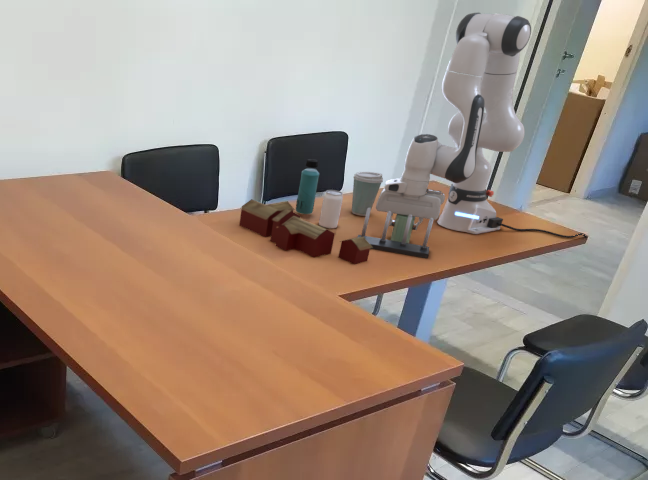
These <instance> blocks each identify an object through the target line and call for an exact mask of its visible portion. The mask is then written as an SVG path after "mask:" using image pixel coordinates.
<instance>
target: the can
mask: <svg viewBox="0 0 648 480" xmlns="http://www.w3.org/2000/svg"><path fill="white" fill-rule="evenodd" d="M343 200H344V195H343V192H342V191H340V190H336V189H327V190H325V194H323V199H322V204H321V209H320V214H319V219H318V226H320V227H322V228H325V229H327V230H331V229H336V228H337V227H338V225H339V219H340V215H341V210H342V205H343Z"/></svg>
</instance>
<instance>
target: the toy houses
mask: <svg viewBox="0 0 648 480" xmlns="http://www.w3.org/2000/svg"><path fill="white" fill-rule="evenodd" d="M239 209H241V210H240V217H239V226H240V227H243V228H244V229H247V230H249V231H251V232H253V233H255V234H257V235H260V236H262V237H264V238H270V242H272V243H275V245H274V246H275V247H277V248H279V249H281V250H283V251H286V252H287V251H291V250H297V251H299V252H301V253H303V254H306V255H308V256H310V257H312V258H317V257H322V256H326V255H331V254H332V251H333V246H334V240H335V236H336V233H335V232H333V231H331V230H330V229H328V228H323V227H321V226H320V225H318V224H316V223H313V222H310V221H308V220H305V219H303V218H302V216H301V215H299V213H297V212H296V213H295V212H294V211H296V208H295V207H294V206H292V204H291V203H290V202H289V201H287V200H285V201H280V202H275V203H269V204H264V203H262V202H259V201H257V200H254V199H250V200H248V201H247V202H246V203H244V204H243V205H242V206H241V207H240V208H239ZM357 237H358V236H357ZM357 237H352V238H347V239H343V240H339V242H340V248H339V252H338V258H339V259H341V260H344V261H346V262H348V263H350V264H352V265H357V264H361V263H365V262H368V260H369V255H370V251H371V248H370V247H372V246H371V245H370V244H369V243H368V241H367V240H366V239H365V238H364V237H358V238H357ZM369 245H370V246H369ZM372 248H373V247H372Z"/></svg>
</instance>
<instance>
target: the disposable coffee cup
mask: <svg viewBox="0 0 648 480" xmlns="http://www.w3.org/2000/svg"><path fill="white" fill-rule="evenodd" d="M383 181H384V178H383V173H380V172H375V171H358V172H356V173H354V176H353V185H352V187H353V188H352V199H351V214H353V215H357V216H360V217H361V216H363V217H365V216H366V212H367V209H368V208H370V209H371V210H372V208H373V206H374V203H375V201H376V198H377V195H378V193H379V190H380V188H381V185H382V183H383Z"/></svg>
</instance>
